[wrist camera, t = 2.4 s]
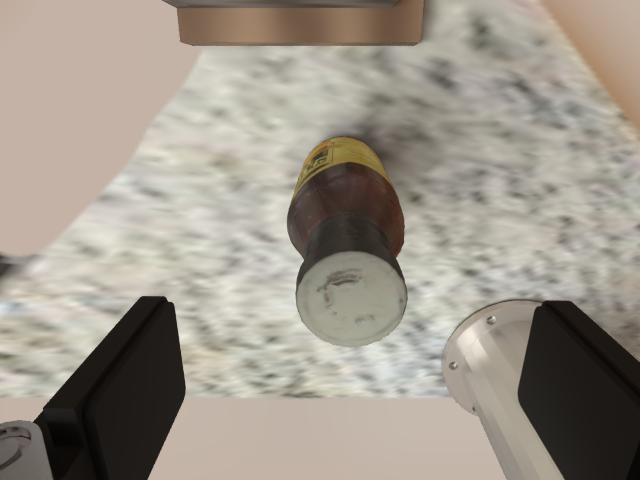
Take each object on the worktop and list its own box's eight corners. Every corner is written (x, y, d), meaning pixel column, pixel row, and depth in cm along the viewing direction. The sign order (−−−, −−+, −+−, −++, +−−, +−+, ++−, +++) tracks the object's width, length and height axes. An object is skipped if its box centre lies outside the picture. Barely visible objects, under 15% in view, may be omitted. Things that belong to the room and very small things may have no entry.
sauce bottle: (313, 125, 32) (288, 177, 13) (391, 146, 32) (474, 227, 13) (293, 204, 34) (247, 346, 15) (366, 224, 34) (407, 385, 16)
